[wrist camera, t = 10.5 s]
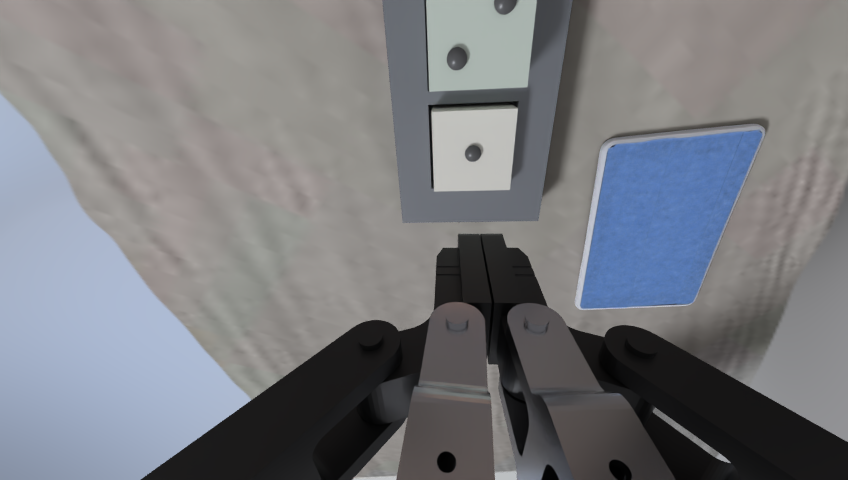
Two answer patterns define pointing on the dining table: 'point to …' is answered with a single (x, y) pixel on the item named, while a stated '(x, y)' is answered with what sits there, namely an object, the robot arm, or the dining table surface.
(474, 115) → the key one pip
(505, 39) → the key two pips
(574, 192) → the dining table surface
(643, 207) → the blue flat rectangular panel
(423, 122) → the keypad board
